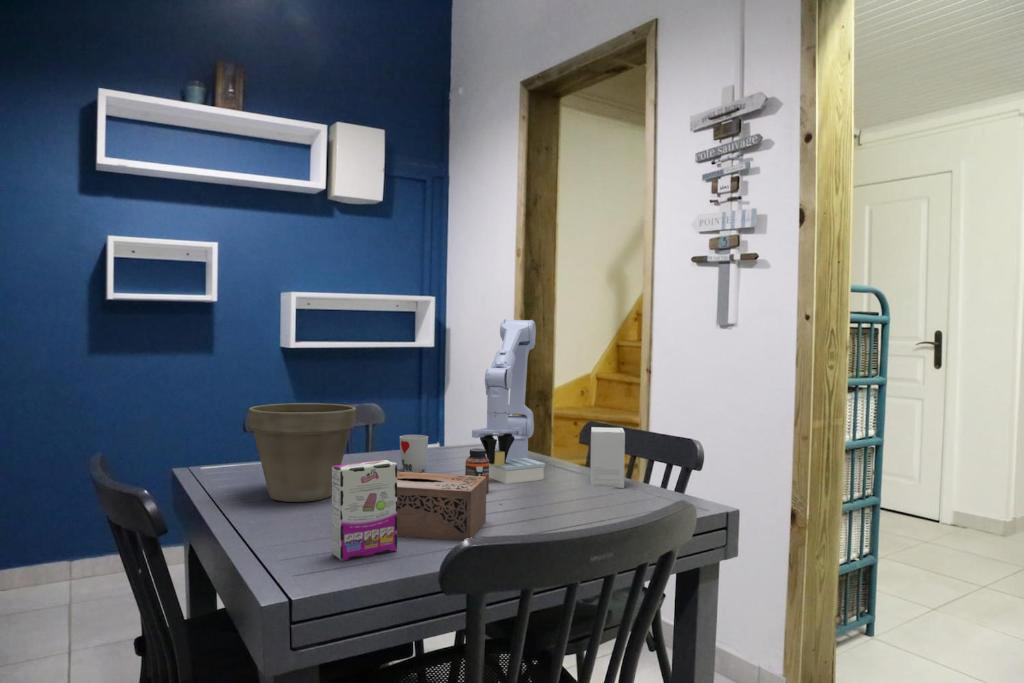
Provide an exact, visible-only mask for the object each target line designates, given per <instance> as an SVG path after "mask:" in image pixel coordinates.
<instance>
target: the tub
mask: <svg viewBox="0 0 1024 683" xmlns="http://www.w3.org/2000/svg"><path fill="white" fill-rule="evenodd" d="M544 470H545V466H544V467H535V468H526V469H517V470H507V471H506V470H503V469H500V468H497V467H494V466H491V465H489V479H491V480H494V481H497V482H500V483H503V484H505V485H508V484H517V483H519V484H520V483H527V482H534V481H535V482H536V481H543V480H544V477H545V476H544V475H545V474H544V472H545V471H544Z"/></svg>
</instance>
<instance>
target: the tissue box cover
mask: <svg viewBox="0 0 1024 683" xmlns="http://www.w3.org/2000/svg"><path fill="white" fill-rule="evenodd" d="M486 482H487V477H485V476H467V475H465V474H464V475H463V474H447V473H446V474H444V473H429V472H420V473H414V472H404V471H397V535H398V536H397V537H406V536H408V538H422V539H423V538H424V539H434V540H436V539H438V540H448V541H450V540H451V541H462V540H464V539H466V538H471V537H473V538H474V537H475V535H477V533H478V532H479V531H480V530H481V529H482V528H483V526H484V525H485V523H486V522H487V494H486ZM483 524H484V525H483ZM462 542H463V541H462Z"/></svg>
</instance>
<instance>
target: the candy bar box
mask: <svg viewBox="0 0 1024 683" xmlns="http://www.w3.org/2000/svg"><path fill="white" fill-rule="evenodd" d="M397 472H398V463H397V462H394V461H392V460H389V459H381V460H380V459H379V460H371V461H363V462H356V463H355V462H353V463H346V464H341V465H336V466H332V495H331V554H332V556H333V557H335V558H337V559H338V560H339V561H342V562H344V561H349V560H355V559H360V558H365V557H370V556H375V555H381V554H386V553H390V552H396V551H397V550H398V536H397Z"/></svg>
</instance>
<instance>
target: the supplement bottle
mask: <svg viewBox="0 0 1024 683" xmlns="http://www.w3.org/2000/svg"><path fill="white" fill-rule="evenodd" d="M464 468H465V470H464V473H465V474H464V475H467V476H485V477H487V482H486V495H487V494H489V490H490V489H489V488H490V487H489V486H490V478H489V459H488V458H487V455H486V450H485V449H484V448H478V447H477V448H470V449H469V456H468V457H467V458H466V459H465V467H464Z"/></svg>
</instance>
